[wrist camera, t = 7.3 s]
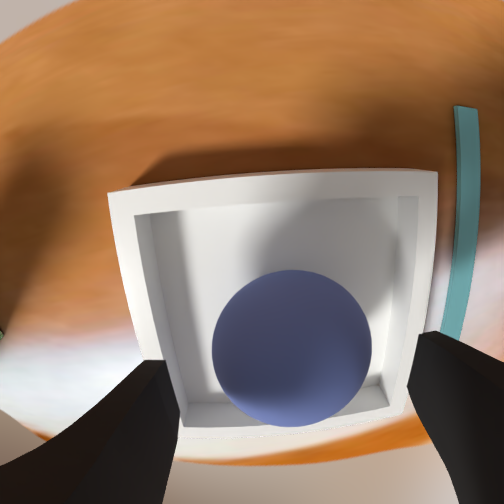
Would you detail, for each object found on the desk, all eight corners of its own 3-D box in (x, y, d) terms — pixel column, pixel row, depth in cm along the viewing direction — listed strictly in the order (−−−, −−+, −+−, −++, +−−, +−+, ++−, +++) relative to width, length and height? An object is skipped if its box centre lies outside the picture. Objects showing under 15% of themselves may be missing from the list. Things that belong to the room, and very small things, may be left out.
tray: (410, 168, 11) (437, 171, 9) (388, 388, 14) (402, 413, 12) (129, 186, 11) (107, 192, 9) (177, 408, 14) (170, 437, 12)
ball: (370, 287, 12) (431, 360, 7) (300, 379, 13) (321, 470, 8) (259, 224, 11) (271, 278, 6) (196, 334, 12) (173, 426, 7)
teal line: (434, 407, 15) (436, 410, 14) (417, 412, 15) (419, 415, 14) (473, 109, 10) (477, 109, 10) (453, 106, 10) (457, 105, 10)
